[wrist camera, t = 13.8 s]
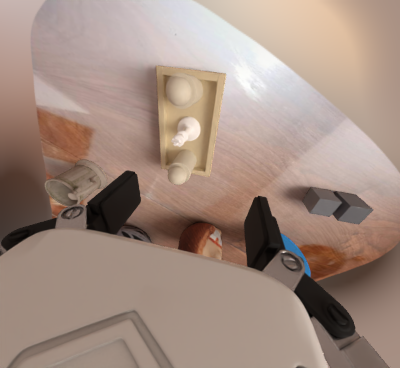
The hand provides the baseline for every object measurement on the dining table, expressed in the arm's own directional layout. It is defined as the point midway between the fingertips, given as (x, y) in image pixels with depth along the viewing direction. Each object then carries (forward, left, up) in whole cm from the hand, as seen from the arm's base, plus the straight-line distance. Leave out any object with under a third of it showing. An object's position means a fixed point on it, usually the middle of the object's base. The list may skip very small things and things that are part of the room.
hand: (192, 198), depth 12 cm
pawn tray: (+1, -6, -24) cm, 25 cm away
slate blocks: (+12, +29, -24) cm, 40 cm away
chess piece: (+1, -6, -23) cm, 24 cm away
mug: (+18, -33, -24) cm, 44 cm away
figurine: (+34, +2, -24) cm, 42 cm away
